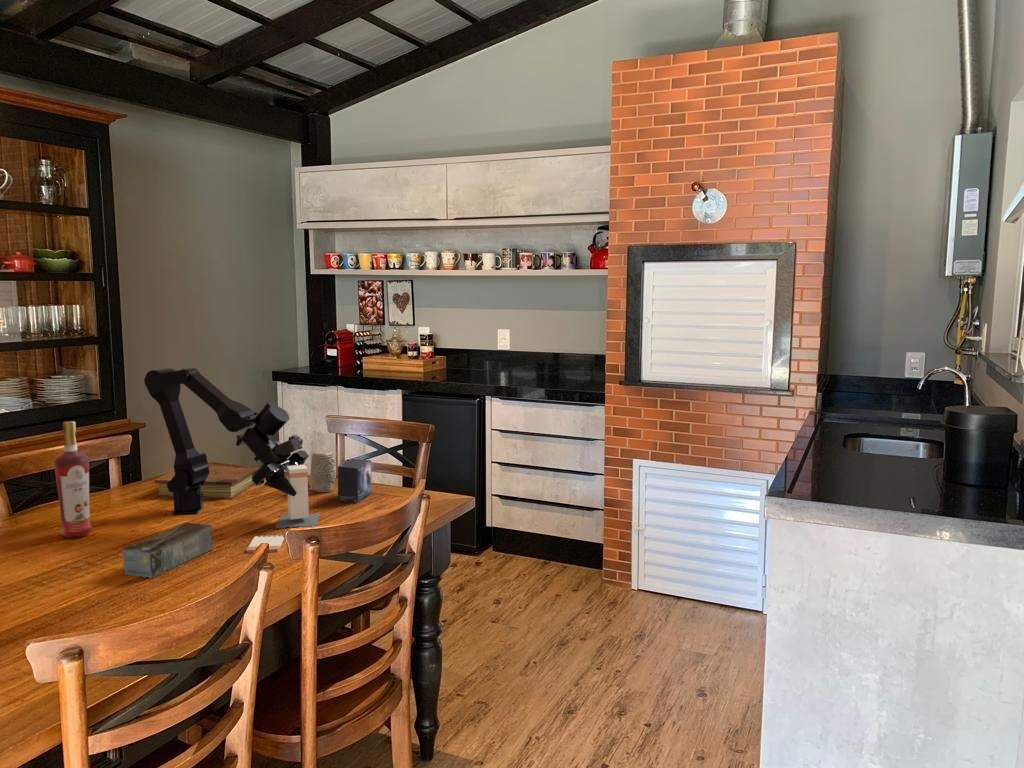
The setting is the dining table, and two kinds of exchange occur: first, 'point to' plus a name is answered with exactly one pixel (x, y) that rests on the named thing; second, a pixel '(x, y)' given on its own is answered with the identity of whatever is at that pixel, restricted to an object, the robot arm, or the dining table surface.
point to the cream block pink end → (271, 540)
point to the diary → (216, 482)
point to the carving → (322, 471)
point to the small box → (354, 480)
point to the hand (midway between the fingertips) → (302, 491)
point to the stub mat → (297, 521)
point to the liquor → (73, 486)
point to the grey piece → (167, 550)
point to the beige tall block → (298, 492)
